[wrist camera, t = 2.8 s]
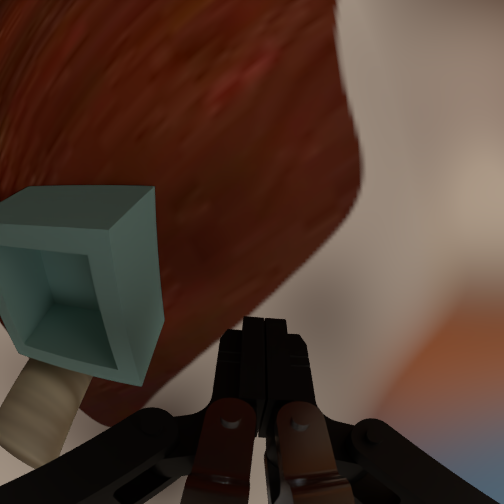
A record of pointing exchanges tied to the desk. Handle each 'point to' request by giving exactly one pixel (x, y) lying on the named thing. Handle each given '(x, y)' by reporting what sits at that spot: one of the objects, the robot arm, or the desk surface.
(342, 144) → the desk surface
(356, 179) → the desk surface
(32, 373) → the dowel
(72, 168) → the desk surface
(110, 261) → the grey-green open box
